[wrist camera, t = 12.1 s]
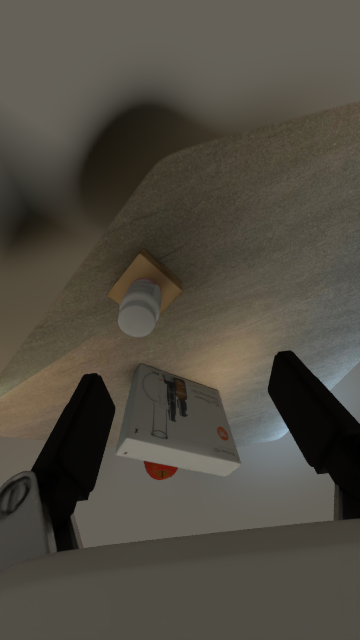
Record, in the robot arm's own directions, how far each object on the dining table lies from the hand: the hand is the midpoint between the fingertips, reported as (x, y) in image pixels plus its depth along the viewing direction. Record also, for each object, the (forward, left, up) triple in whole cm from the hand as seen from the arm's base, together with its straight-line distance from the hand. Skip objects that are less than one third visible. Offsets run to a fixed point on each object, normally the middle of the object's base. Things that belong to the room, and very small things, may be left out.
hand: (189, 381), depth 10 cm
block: (+1, -5, -23) cm, 23 cm away
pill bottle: (+1, -5, -19) cm, 19 cm away
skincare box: (+26, -3, -23) cm, 35 cm away
